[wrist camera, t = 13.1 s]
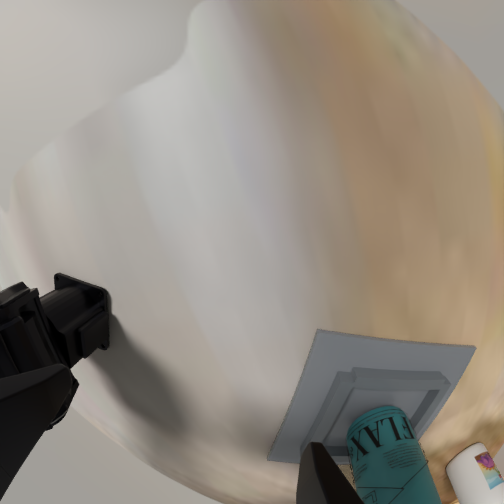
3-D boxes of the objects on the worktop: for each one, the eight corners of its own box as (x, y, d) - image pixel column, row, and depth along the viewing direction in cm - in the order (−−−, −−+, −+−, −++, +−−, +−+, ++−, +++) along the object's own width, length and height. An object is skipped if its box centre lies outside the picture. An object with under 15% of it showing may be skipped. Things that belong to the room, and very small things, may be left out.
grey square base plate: (267, 457, 25) (266, 470, 23) (317, 329, 20) (320, 342, 19) (400, 457, 24) (404, 468, 22) (474, 345, 20) (483, 354, 18)
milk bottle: (447, 473, 25) (476, 549, 6) (441, 463, 24) (475, 550, 5) (482, 449, 24) (519, 519, 4) (481, 435, 23) (524, 515, 3)
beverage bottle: (405, 386, 21) (481, 558, 1) (397, 427, 22) (445, 573, 2) (340, 403, 21) (375, 604, 2) (340, 442, 23) (362, 602, 3)
